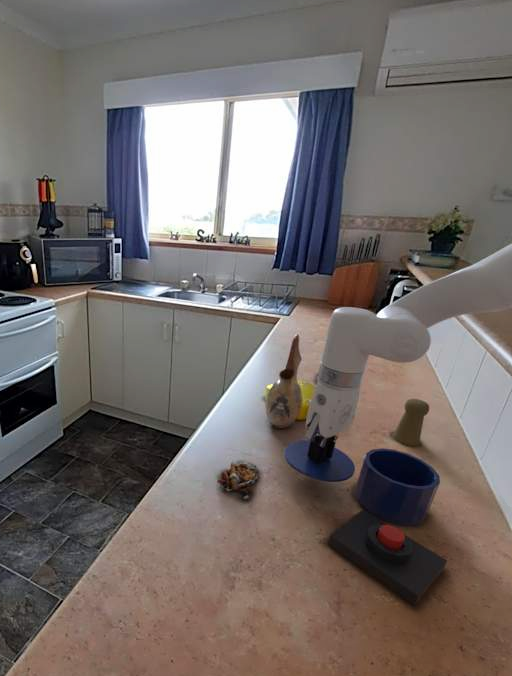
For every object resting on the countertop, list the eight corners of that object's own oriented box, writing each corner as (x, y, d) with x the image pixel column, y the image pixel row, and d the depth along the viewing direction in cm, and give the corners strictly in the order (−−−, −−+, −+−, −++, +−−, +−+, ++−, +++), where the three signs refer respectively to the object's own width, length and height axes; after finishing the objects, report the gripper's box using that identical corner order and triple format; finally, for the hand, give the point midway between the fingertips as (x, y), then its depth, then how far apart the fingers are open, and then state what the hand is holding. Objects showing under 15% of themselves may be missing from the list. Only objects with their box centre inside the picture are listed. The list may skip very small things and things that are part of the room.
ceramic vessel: (269, 407, 115) (283, 324, 105) (301, 415, 111) (319, 329, 102) (255, 433, 101) (271, 340, 92) (291, 443, 98) (312, 347, 88)
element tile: (296, 421, 108) (299, 405, 106) (261, 398, 120) (264, 383, 119) (336, 412, 114) (340, 397, 112) (299, 391, 126) (302, 377, 125)
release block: (443, 570, 64) (451, 552, 63) (413, 606, 58) (422, 587, 57) (359, 518, 75) (365, 501, 73) (327, 544, 68) (332, 526, 67)
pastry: (262, 469, 87) (264, 455, 86) (248, 501, 77) (250, 486, 76) (231, 459, 90) (233, 446, 89) (213, 489, 80) (215, 475, 79)
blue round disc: (366, 469, 80) (374, 443, 78) (329, 493, 73) (337, 466, 70) (308, 438, 90) (313, 414, 88) (269, 457, 82) (274, 431, 80)
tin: (436, 508, 78) (450, 472, 75) (408, 535, 71) (422, 498, 68) (373, 474, 87) (383, 442, 84) (342, 496, 80) (352, 461, 77)
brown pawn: (397, 443, 100) (410, 405, 96) (389, 431, 105) (401, 394, 101) (423, 447, 99) (437, 408, 95) (413, 434, 105) (426, 397, 100)
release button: (405, 543, 65) (408, 535, 64) (395, 553, 63) (398, 545, 62) (383, 529, 67) (386, 521, 67) (373, 538, 65) (375, 530, 65)
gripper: (334, 392, 66) (312, 481, 73) (380, 373, 75) (357, 454, 83) (296, 376, 72) (279, 461, 79) (344, 360, 81) (324, 437, 88)
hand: (319, 457), depth 81 cm, fingers closed on blue round disc, 2 cm apart
